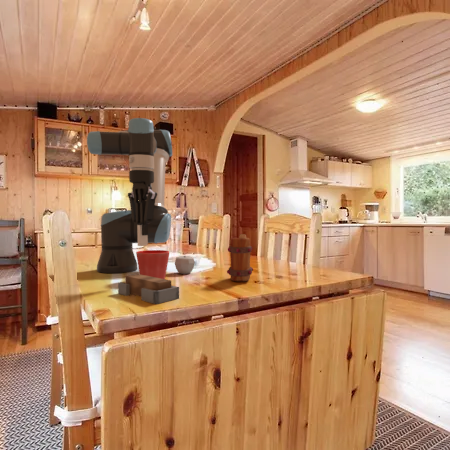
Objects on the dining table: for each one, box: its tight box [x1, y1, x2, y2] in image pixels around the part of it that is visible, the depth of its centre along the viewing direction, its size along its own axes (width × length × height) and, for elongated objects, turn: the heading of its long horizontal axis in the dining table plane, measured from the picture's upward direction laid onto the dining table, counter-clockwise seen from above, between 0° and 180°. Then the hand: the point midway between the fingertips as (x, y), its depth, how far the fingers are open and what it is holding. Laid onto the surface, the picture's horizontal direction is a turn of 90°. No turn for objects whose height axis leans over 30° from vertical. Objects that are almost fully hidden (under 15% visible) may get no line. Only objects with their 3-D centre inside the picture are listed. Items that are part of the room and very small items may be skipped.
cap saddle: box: [117, 281, 131, 297], centre depth 95 cm, size 4×8×3 cm, turn 139°
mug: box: [226, 233, 254, 283], centre depth 114 cm, size 15×8×15 cm, turn 168°
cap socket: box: [140, 284, 180, 305], centre depth 87 cm, size 6×8×3 cm
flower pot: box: [135, 249, 170, 279], centre depth 112 cm, size 11×11×10 cm
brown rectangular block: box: [125, 273, 172, 298], centre depth 91 cm, size 15×4×5 cm, turn 49°
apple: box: [174, 255, 196, 275], centre depth 125 cm, size 8×8×7 cm
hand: (142, 245), depth 106 cm, fingers closed
